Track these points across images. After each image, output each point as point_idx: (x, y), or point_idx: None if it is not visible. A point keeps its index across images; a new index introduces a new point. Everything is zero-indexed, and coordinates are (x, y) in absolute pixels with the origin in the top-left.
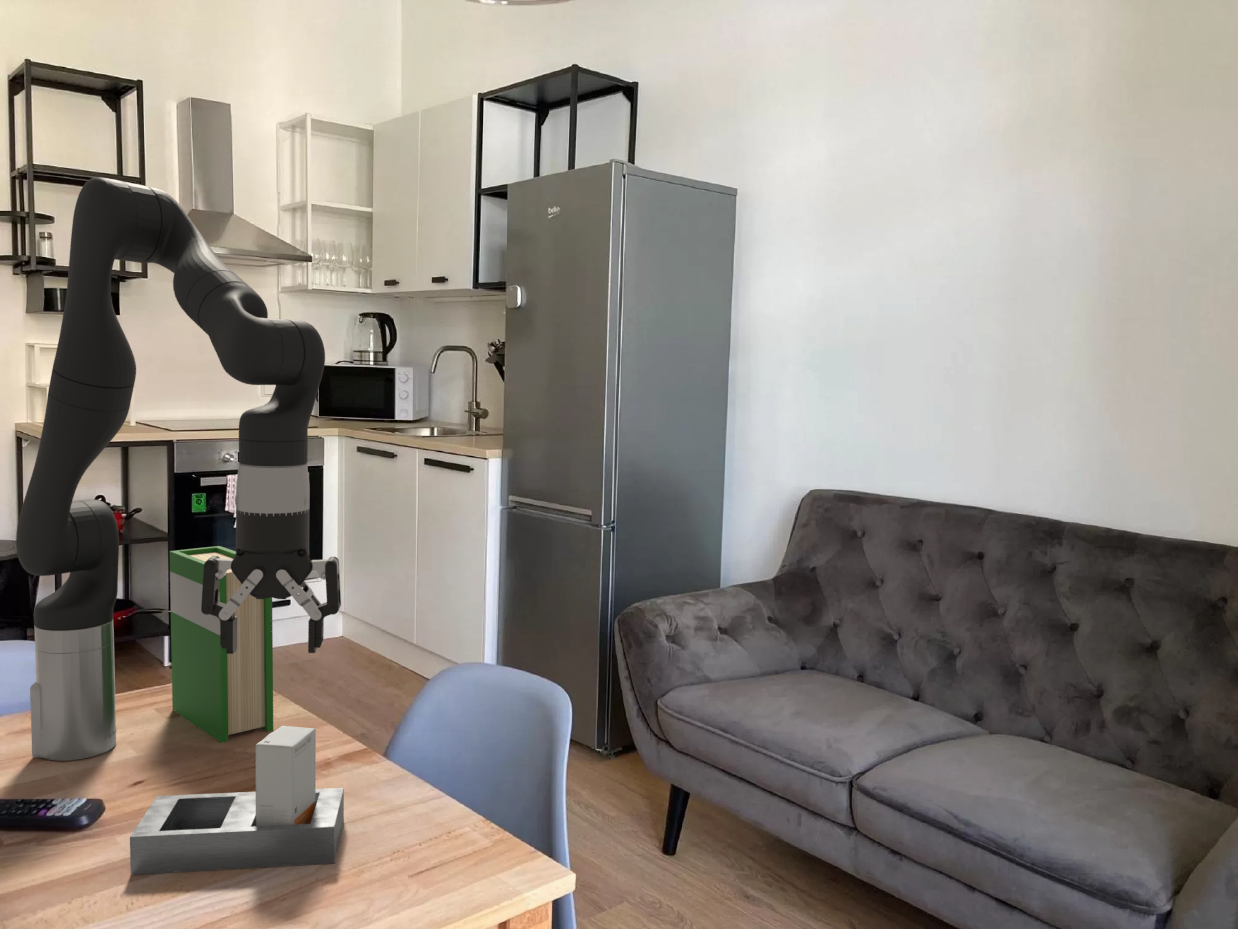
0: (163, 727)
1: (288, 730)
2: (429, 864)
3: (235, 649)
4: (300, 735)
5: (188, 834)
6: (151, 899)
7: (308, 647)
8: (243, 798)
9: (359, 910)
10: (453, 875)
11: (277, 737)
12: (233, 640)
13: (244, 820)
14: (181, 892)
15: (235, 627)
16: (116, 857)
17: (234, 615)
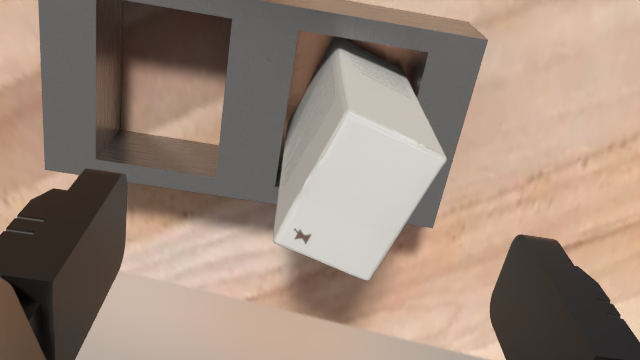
0: None
1: (365, 164)
2: (573, 234)
3: (123, 210)
4: (396, 212)
5: (157, 185)
6: (132, 226)
7: (496, 333)
8: (251, 38)
9: (435, 328)
10: (596, 276)
11: (331, 210)
12: (101, 290)
13: (260, 156)
14: (175, 217)
15: (79, 283)
16: (24, 59)
17: (33, 315)
